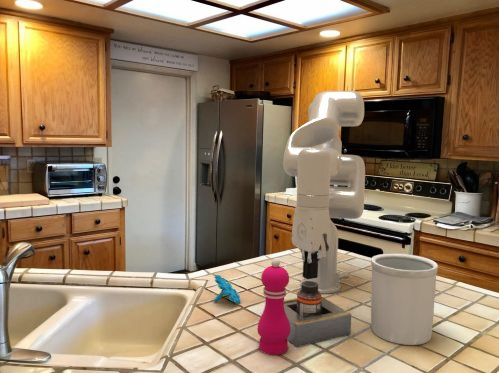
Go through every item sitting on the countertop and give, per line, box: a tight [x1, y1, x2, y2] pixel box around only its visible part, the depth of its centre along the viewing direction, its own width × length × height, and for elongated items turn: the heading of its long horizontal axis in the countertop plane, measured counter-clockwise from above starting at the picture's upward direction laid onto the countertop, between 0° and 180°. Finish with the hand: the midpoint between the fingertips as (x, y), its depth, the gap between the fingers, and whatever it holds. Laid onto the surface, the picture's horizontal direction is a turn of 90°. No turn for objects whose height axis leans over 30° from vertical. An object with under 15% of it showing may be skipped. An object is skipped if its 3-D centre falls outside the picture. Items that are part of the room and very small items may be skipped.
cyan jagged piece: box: [213, 274, 242, 305], centre depth 117 cm, size 11×6×10 cm
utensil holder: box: [370, 253, 439, 346], centre depth 99 cm, size 15×15×18 cm
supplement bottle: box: [296, 281, 323, 318], centre depth 101 cm, size 6×6×11 cm
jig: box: [284, 296, 352, 348], centre depth 101 cm, size 15×13×5 cm
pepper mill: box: [256, 258, 290, 356], centre depth 90 cm, size 7×7×20 cm
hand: (310, 277), depth 99 cm, fingers closed
